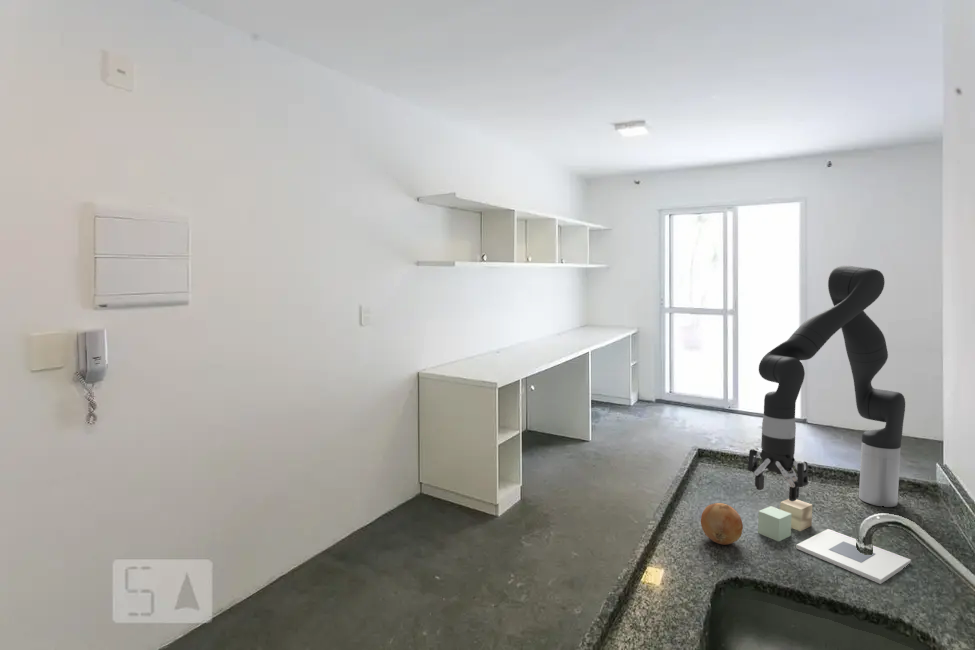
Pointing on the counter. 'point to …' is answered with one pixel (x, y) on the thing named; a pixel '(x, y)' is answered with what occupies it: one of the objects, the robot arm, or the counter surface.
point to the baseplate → (853, 556)
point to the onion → (721, 523)
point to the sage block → (774, 523)
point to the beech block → (798, 513)
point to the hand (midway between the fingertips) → (775, 494)
